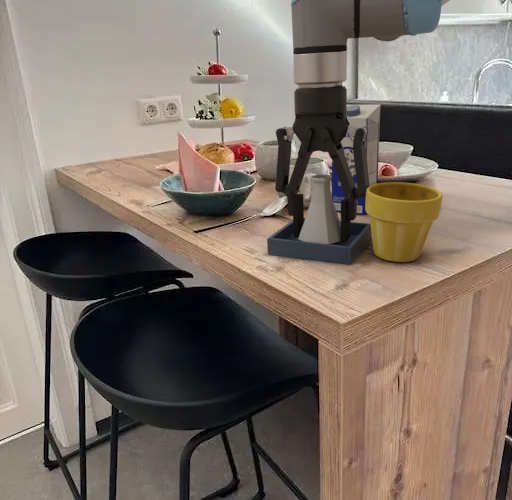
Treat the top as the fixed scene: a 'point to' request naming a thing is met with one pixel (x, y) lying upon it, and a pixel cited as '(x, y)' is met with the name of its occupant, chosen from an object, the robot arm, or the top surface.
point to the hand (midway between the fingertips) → (321, 237)
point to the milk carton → (371, 120)
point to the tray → (320, 245)
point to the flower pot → (401, 218)
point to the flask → (321, 214)
